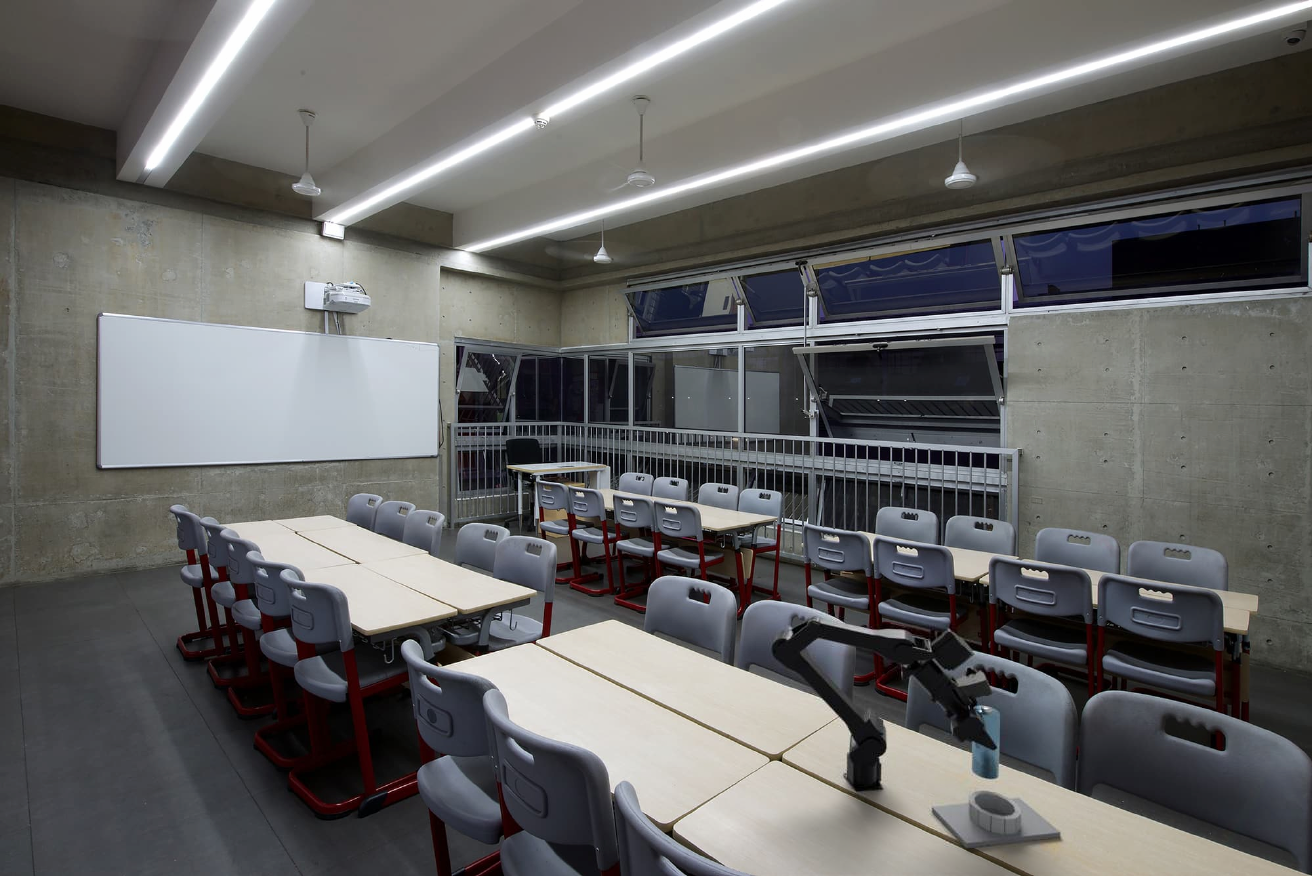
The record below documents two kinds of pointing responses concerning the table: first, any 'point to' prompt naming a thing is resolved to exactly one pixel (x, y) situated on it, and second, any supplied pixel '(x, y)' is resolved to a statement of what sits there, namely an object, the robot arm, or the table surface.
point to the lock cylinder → (982, 757)
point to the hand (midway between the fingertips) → (993, 742)
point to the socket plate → (989, 838)
